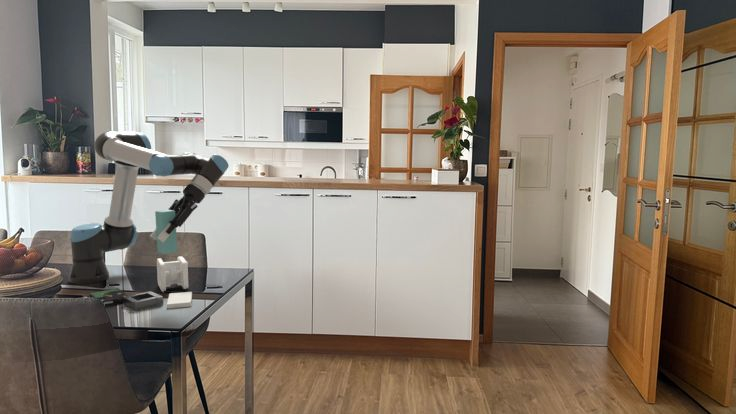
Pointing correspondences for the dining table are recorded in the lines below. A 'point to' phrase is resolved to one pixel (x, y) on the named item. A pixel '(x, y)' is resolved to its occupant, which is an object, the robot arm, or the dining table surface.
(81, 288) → the dining table surface
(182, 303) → the off-white pad
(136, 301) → the socket block
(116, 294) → the disk drive
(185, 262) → the cable organizer
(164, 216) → the teal peg
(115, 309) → the dining table surface
